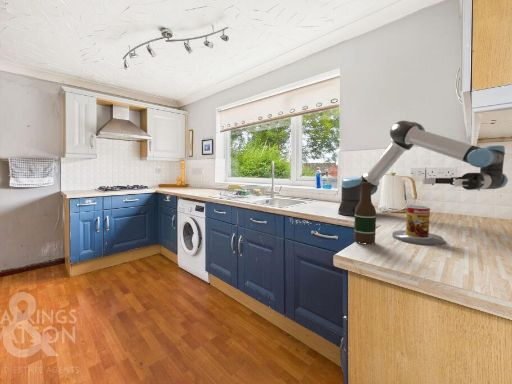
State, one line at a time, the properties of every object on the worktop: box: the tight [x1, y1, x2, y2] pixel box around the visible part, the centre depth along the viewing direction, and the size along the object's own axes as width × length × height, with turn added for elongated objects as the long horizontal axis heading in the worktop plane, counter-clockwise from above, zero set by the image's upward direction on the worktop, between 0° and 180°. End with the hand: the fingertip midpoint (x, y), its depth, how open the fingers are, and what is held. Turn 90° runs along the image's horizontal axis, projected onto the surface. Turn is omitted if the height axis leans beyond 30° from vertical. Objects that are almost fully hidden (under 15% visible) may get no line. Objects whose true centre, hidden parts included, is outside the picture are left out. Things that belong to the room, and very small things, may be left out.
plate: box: [392, 229, 445, 246], centre depth 104 cm, size 18×18×1 cm
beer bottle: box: [353, 182, 377, 245], centre depth 99 cm, size 8×8×24 cm
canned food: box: [405, 205, 431, 238], centre depth 104 cm, size 8×8×12 cm
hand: (438, 182), depth 105 cm, fingers open, 13 cm apart
